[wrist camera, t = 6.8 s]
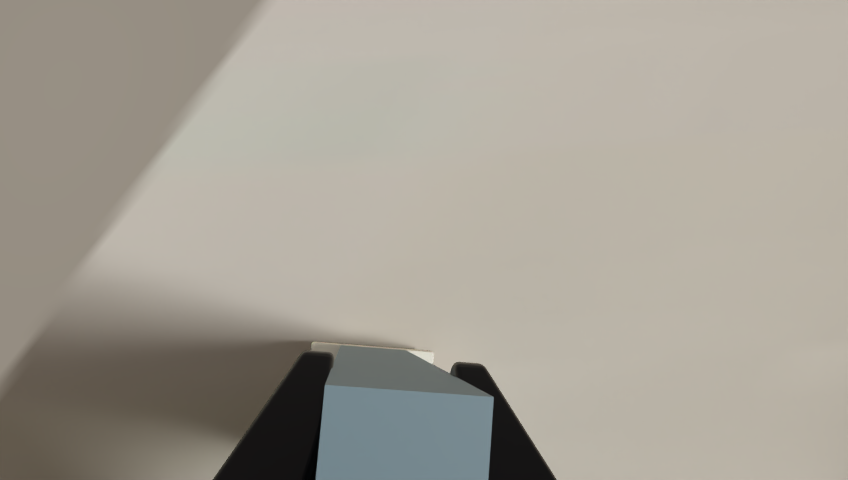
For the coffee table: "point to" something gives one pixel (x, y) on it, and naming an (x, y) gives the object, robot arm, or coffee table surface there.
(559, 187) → the coffee table surface
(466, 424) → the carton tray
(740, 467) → the coffee table surface
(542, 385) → the coffee table surface
